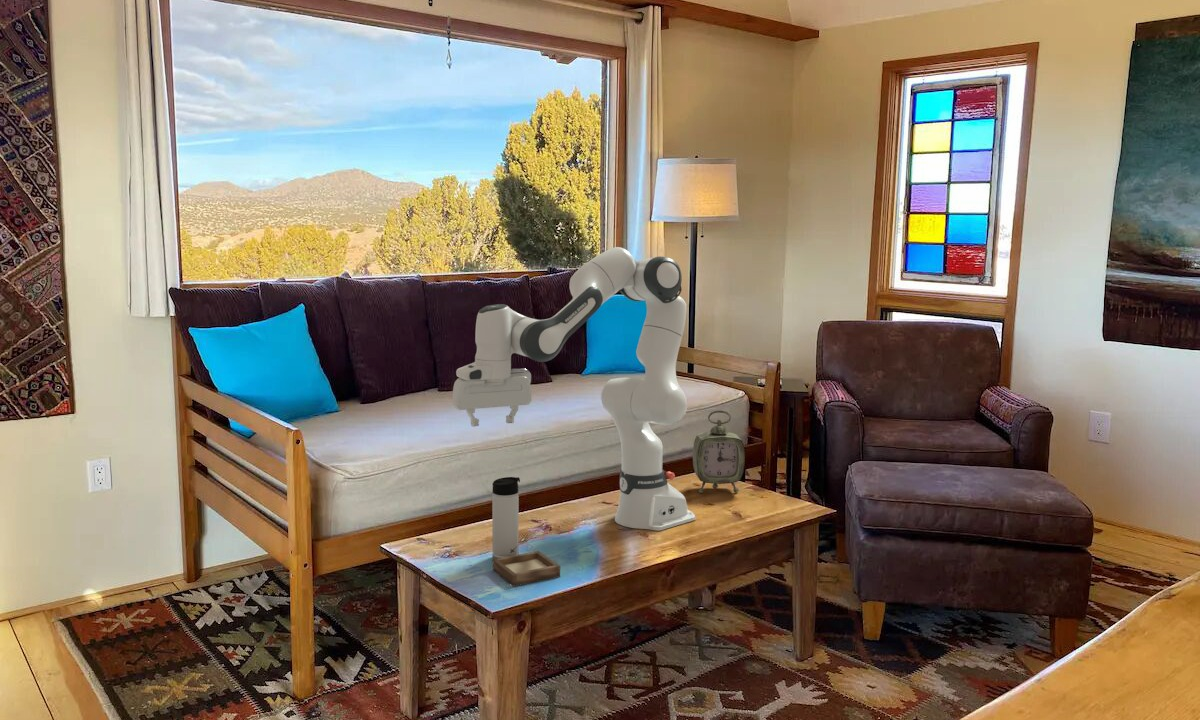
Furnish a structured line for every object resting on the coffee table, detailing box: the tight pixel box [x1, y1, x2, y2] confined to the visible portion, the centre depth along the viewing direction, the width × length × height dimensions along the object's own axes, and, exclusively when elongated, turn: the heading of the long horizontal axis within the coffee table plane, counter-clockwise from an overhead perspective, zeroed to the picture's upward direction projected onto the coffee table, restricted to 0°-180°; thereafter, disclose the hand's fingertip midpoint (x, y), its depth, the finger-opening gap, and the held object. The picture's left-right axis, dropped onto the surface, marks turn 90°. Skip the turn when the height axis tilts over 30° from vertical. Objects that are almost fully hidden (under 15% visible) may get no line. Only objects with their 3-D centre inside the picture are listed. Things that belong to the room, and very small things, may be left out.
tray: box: [492, 550, 561, 587], centre depth 216 cm, size 12×11×3 cm
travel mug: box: [491, 476, 521, 560], centre depth 224 cm, size 6×7×20 cm
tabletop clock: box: [692, 410, 746, 494], centre depth 281 cm, size 14×9×25 cm, turn 95°
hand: (492, 424), depth 233 cm, fingers open, 8 cm apart
